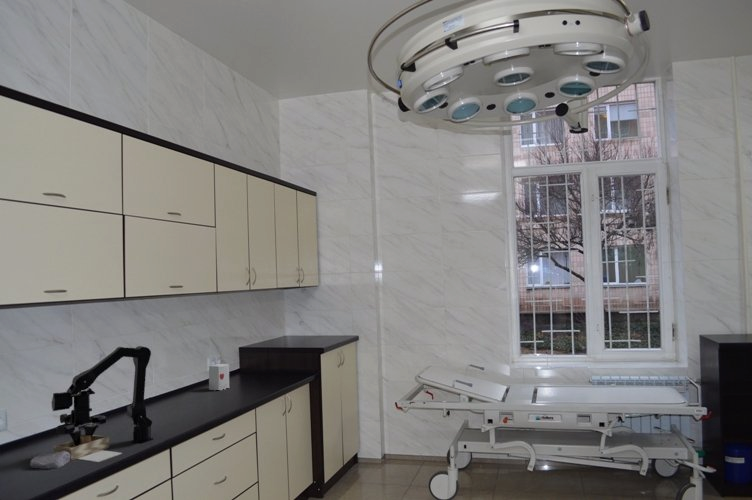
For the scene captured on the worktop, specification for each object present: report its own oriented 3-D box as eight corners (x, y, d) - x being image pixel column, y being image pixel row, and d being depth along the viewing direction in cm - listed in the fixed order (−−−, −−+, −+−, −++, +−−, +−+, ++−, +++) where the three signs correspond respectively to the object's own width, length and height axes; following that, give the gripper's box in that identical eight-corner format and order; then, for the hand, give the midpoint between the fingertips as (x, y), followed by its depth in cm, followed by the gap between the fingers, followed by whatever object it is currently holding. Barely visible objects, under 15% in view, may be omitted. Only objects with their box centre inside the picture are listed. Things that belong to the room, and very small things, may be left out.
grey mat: (102, 451, 230) (102, 450, 230) (122, 453, 225) (122, 452, 225) (77, 459, 220) (77, 458, 220) (97, 462, 215) (97, 461, 215)
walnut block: (82, 444, 231) (82, 434, 231) (90, 445, 229) (90, 435, 229) (73, 447, 227) (73, 437, 228) (82, 448, 225) (81, 438, 226)
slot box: (92, 445, 238) (92, 434, 238) (109, 447, 234) (109, 436, 234) (54, 458, 223) (53, 446, 223) (71, 460, 218) (71, 448, 218)
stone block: (58, 473, 210) (73, 459, 219) (56, 461, 209) (71, 447, 219) (26, 475, 210) (42, 461, 220) (24, 463, 209) (40, 450, 219)
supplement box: (218, 391, 348) (218, 366, 349) (208, 390, 353) (208, 365, 354) (230, 388, 356) (229, 364, 357) (220, 387, 361) (219, 363, 362)
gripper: (88, 400, 241) (88, 438, 240) (46, 410, 224) (46, 451, 223) (107, 402, 236) (107, 440, 235) (65, 412, 219) (66, 453, 218)
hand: (82, 446), depth 228 cm, fingers closed on walnut block, 4 cm apart
